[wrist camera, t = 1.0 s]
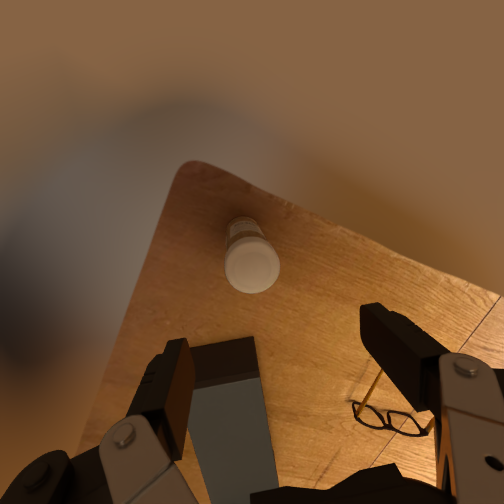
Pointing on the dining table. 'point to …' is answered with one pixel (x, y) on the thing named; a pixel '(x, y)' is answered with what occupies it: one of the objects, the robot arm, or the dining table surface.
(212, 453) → the shelf
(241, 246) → the sprinkles bottle
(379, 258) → the dining table surface
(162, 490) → the robot arm
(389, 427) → the eyeglasses
